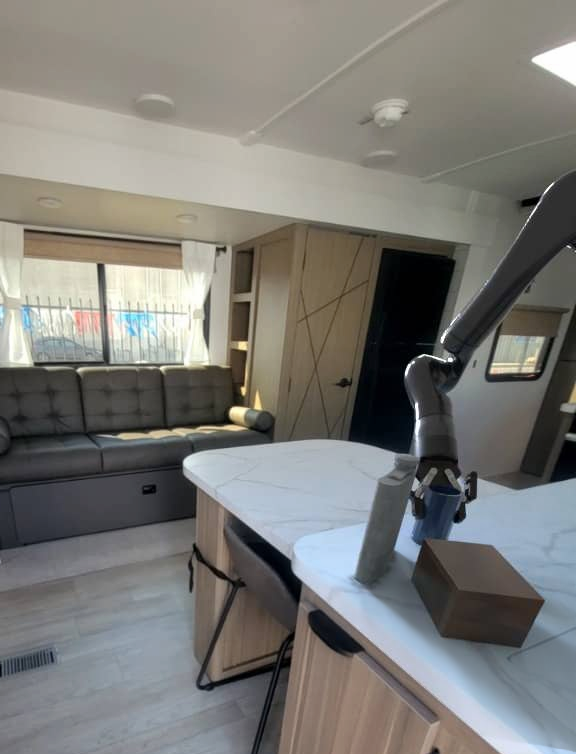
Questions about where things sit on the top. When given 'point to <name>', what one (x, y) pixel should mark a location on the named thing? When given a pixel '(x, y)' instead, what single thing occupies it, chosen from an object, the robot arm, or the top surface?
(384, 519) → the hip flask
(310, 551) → the top surface
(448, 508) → the blue cup
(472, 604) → the walnut wood box
